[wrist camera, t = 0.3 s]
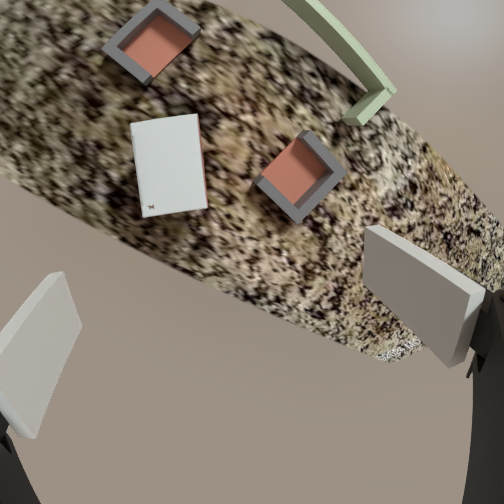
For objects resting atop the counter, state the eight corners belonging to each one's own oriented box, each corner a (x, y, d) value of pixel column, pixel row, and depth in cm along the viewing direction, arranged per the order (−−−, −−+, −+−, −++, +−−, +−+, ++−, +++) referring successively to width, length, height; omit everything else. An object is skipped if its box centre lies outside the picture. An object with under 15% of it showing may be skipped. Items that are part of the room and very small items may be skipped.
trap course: (106, 54, 27) (97, 45, 24) (231, -49, 25) (236, -65, 21) (291, 218, 38) (301, 228, 35) (393, 111, 36) (412, 111, 32)
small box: (205, 189, 35) (209, 211, 26) (156, 196, 35) (142, 220, 25) (197, 119, 32) (199, 112, 23) (147, 126, 32) (128, 123, 22)
